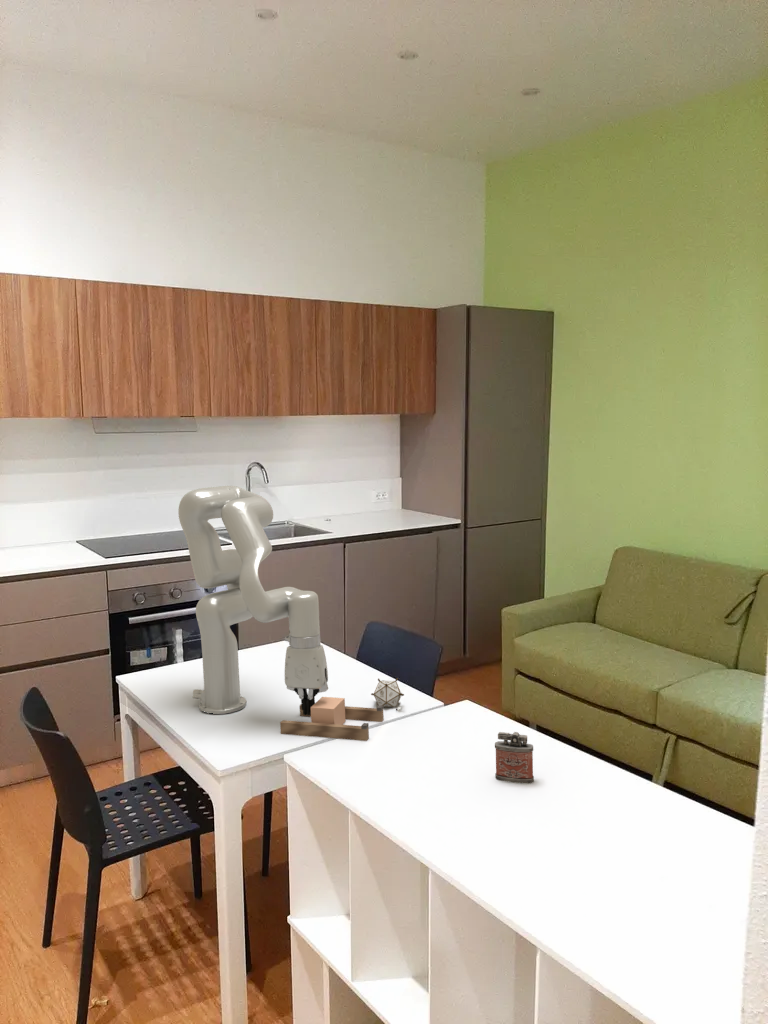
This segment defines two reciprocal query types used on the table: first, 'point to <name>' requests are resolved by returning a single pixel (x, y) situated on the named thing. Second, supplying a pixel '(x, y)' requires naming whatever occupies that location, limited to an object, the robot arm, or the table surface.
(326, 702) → the block
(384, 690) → the game die
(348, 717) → the chute
